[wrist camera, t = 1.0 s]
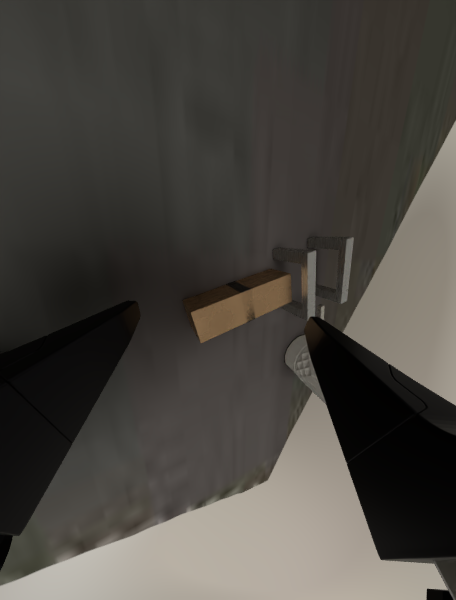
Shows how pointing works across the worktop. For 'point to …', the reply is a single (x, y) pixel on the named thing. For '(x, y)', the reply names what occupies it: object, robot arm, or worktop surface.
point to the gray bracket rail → (309, 274)
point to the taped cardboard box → (237, 303)
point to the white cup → (303, 364)
